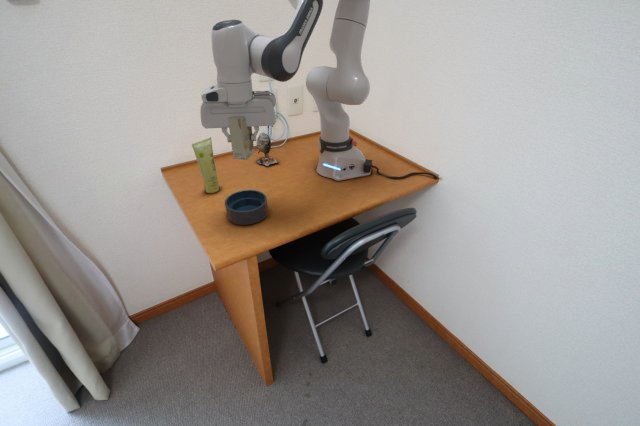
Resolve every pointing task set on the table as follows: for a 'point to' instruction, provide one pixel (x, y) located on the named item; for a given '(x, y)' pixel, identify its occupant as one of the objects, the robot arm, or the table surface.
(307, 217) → the table surface
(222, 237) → the table surface
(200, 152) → the tube
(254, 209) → the bowl
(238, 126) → the cosmetic box
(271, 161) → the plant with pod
